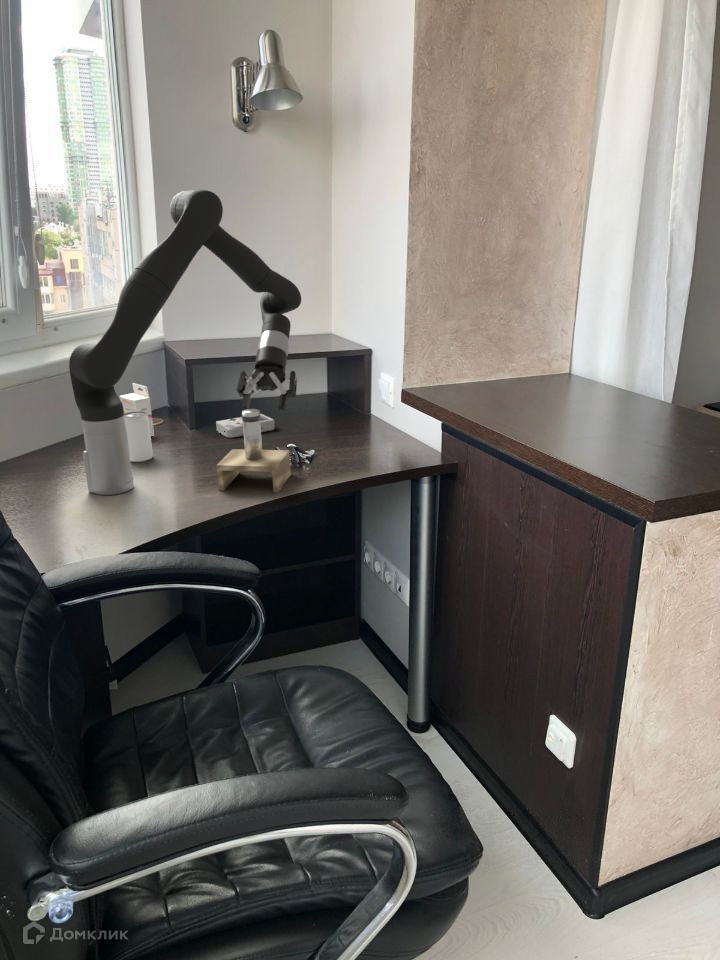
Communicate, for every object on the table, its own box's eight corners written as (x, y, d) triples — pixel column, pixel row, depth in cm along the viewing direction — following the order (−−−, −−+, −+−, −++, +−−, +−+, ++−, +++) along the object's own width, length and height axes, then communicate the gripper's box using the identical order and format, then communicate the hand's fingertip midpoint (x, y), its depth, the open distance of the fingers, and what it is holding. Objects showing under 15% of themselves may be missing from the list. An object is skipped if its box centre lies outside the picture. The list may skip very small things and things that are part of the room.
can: (122, 459, 195) (116, 414, 191) (144, 453, 199) (138, 409, 195) (136, 464, 191) (130, 418, 187) (158, 458, 195) (152, 413, 191)
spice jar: (242, 459, 173) (239, 413, 169) (247, 454, 176) (244, 408, 173) (260, 460, 172) (257, 413, 168) (264, 454, 176) (261, 409, 172)
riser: (218, 490, 172) (216, 465, 170) (234, 472, 183) (232, 449, 181) (278, 491, 170) (276, 466, 168) (290, 474, 181) (289, 450, 179)
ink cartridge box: (123, 435, 216) (117, 385, 211) (139, 431, 220) (132, 382, 215) (140, 441, 211) (133, 389, 206) (155, 437, 214) (149, 386, 209)
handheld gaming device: (216, 433, 218) (215, 420, 216) (262, 424, 225) (261, 412, 223) (228, 440, 211) (227, 427, 209) (275, 431, 218) (274, 419, 216)
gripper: (240, 345, 184) (230, 402, 178) (297, 344, 182) (289, 402, 176) (248, 362, 191) (239, 418, 184) (303, 361, 189) (295, 418, 182)
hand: (263, 410), depth 180 cm, fingers open, 8 cm apart
